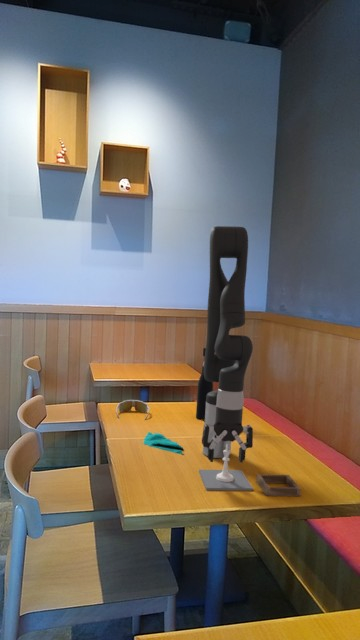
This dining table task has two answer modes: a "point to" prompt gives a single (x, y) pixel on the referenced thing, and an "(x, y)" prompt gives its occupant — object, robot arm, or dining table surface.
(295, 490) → the square frame
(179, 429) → the dining table surface
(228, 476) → the chess piece
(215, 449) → the robot arm
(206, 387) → the wine bottle
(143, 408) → the sunglasses
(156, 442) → the cloth
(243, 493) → the dining table surface
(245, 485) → the mat
